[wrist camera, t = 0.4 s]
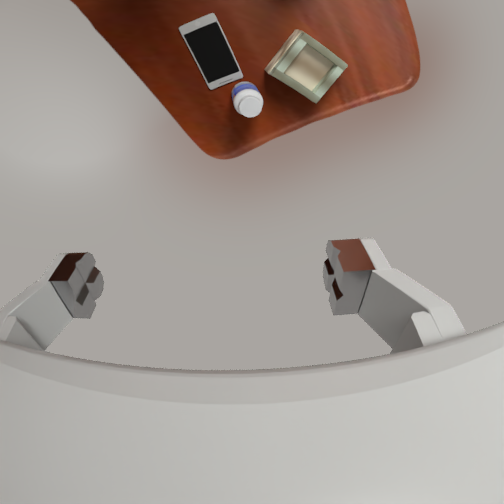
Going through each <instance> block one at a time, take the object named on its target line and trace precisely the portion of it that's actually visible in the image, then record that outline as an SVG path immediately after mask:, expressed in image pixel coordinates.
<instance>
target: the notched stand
mask: <svg viewBox="0 0 504 504" xmlns="http://www.w3.org/2000/svg"><path fill="white" fill-rule="evenodd" d="M347 66H348V65H347V64H346V63H345V62H343V61H342V60H341V59H340V58H339V57H337V56H336V55H335V54H333V53H332V52H331V51H330V50H328V49H327V48H326V47H324V46H323V45H322V44H320V43H319V42H317V41H316V40H315V39H313V38H312V37H310V36H309V35H308V34H306V33H305V32H303V31H302V30H295V31H294V32H293V33H292V35H291V36H290V37H289V38H288V39H287V41H286V42H285V43H284V45H283V46H282V47H281V48H280V50H279V51H278V52H277V54H276V55H275V56H274V57H273V59H272V60H271V61H270V63H269V64H268V65H267V67H266V68H265V71H266V72H267V73H268V74H270V75H272V76H273V77H275V78H277V79H278V80H280V81H282V82H283V83H285V84H287V85H288V86H290V87H291V88H293V89H294V90H296V91H298V92H299V93H301V94H302V95H304V96H305V97H307V98H308V99H310V100H311V101H312V102H315V103H317V102H318V101H319V100H320V98H321V97H322V96H323V95H324V94H325V92H326V91H327V90H328V89H329V88H330V86H331V85H332V84H333V83H334V82H335V80H336V79H337V78H338V77H339V76H340V75H341V73H342V72H343V71H344V70H345V69H346V67H347Z"/></svg>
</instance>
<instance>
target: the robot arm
mask: <svg viewBox="0 0 504 504" xmlns="http://www.w3.org/2000/svg"><path fill="white" fill-rule="evenodd" d="M326 253H327V255H328V259H327V260H326V261H325V262H324V270H323V278H324V284H325V288H326V290H327V291H328V292H330V297H329V302H330V305H331V309H332V312H333V315H344V314H355V313H358V315H359V316H360V317H361V318H362V319H363V320H364V321H365V322H366V323H367V324H368V325H369V326H370V327H371V328H372V329H373V330H374V331H375V332H376V333H377V334H378V335H379V336H380V337H381V338H382V339H383V340H384V341H385V342H386V343H387V344H388V345H389V346H390V347H391V348H392V349H393V350H392V351H391V353H390V354H387V355H382V356H377V357H371V358H365V359H358V360H352V361H345V362H338V363H330V364H322V365H312V366H302V367H291V368H277V369H258V370H182V369H163V368H150V367H139V366H130V365H121V364H113V363H105V362H98V361H92V360H86V359H80V358H74V357H69V356H64V355H58V354H54V353H49V352H45V349H46V348H47V347H48V346H49V345H50V344H51V343H52V341H53V340H54V339H55V338H56V337H57V336H58V335H59V334H60V333H61V331H62V330H63V329H64V328H65V327H66V326H67V325H68V324H69V323H70V322H71V321H72V320H73V318H89V319H90V318H91V315H92V313H93V311H94V309H95V306H96V302H95V300H96V299H97V298H99V297H100V296H101V293H102V291H103V284H104V281H103V277H102V274H101V272H100V271H99V270H98V269H97V268H96V267H95V259H94V257H93V255H92V254H90V253H88V252H86V253H63V254H58V255H56V257H55V258H54V259H53V261H52V262H51V264H50V265H49V267H48V268H47V269H46V271H45V272H44V274H43V275H42V277H41V278H40V280H39V281H36V282H35V283H33V284H32V285H30V286H29V287H28V288H26V289H25V290H24V291H23V292H21V293H20V294H19V295H17V296H16V297H15V298H14V299H12V300H11V301H10V302H9V303H7V304H6V305H5V306H4V307H2V308H1V309H0V504H504V322H501V323H499V324H496V325H493V326H491V327H488V328H485V329H482V330H479V331H476V332H473V333H470V334H467V333H466V332H465V330H464V328H463V326H462V324H461V322H460V320H459V319H458V317H457V315H456V313H455V311H454V309H453V308H452V306H451V305H450V304H449V303H447V302H446V301H444V300H443V299H441V298H440V297H439V296H437V295H435V294H434V293H432V292H431V291H430V290H428V289H427V288H425V287H423V286H422V285H420V284H419V283H417V282H416V281H414V280H413V279H411V278H410V277H408V276H407V275H405V274H404V273H402V272H400V271H399V270H397V269H391V267H390V265H389V263H388V262H387V260H386V258H385V256H384V255H383V253H382V251H381V250H380V248H379V246H378V245H377V243H376V241H375V240H374V239H373V238H358V239H346V240H329V241H328V243H327V247H326Z"/></svg>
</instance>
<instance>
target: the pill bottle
mask: <svg viewBox="0 0 504 504" xmlns="http://www.w3.org/2000/svg"><path fill="white" fill-rule="evenodd" d="M232 100H233V104H234V107H235V109H236V111H237V112H238V113H240V114H242V115H243V116H245V117H255V116H257V115H258V114H259V113H260V112H261V110H262V106H263V98H262V96H261V94H260V93H259V91H258V89H257V88H256V86H255V85H254V84H252V83H250V82H240V83H238V84H236V85H235V86H234V88H233V90H232Z"/></svg>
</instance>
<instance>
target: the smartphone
mask: <svg viewBox="0 0 504 504" xmlns="http://www.w3.org/2000/svg"><path fill="white" fill-rule="evenodd" d="M179 31H180V33H181V34H182V36H183V38H184V40H185V42H186V44H187V46H188V48H189V50H190V52H191V53H192V55H193V57H194V59H195V61H196V63H197V65H198V67H199V69H200V71H201V73H202V75H203V77H204V79H205V81H206V83H207V85H208V87H209V89H211V90H212V89H214V88H217V87H219V86H222V85H224V84H227V83H229V82H232V81H235V80H237V79H240V78H242V77H243V74H242V72H241V70H240V67H239V65H238V63H237V61H236V58H235V56H234V54H233V52H232V50H231V47H230V45H229V43H228V41H227V39H226V37H225V34H224V32H223V30H222V28H221V26H220V24H219V22H218V20H217V18H216V16H215V14H214V13H211V14H208V15H206V16H203V17H201V18H199V19H196V20H194V21H191V22H189V23H187V24H185V25H182V26H180V27H179Z"/></svg>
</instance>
